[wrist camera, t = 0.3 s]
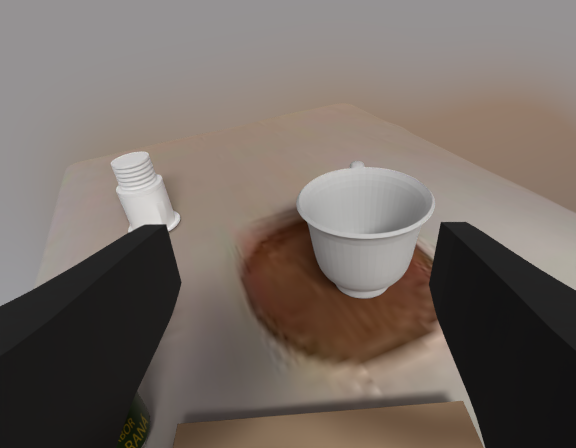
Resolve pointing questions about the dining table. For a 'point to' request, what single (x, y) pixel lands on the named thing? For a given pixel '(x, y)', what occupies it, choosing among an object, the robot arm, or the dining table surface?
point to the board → (340, 429)
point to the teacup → (364, 225)
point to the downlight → (142, 192)
